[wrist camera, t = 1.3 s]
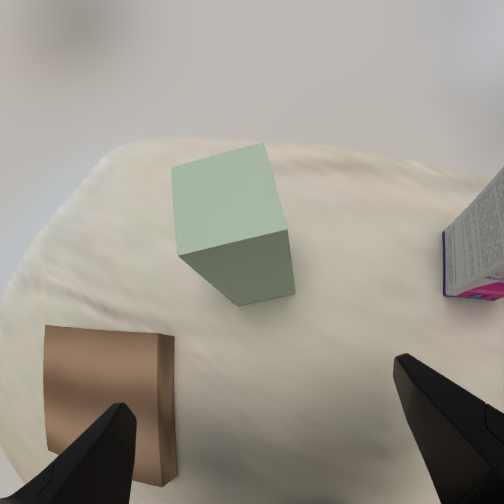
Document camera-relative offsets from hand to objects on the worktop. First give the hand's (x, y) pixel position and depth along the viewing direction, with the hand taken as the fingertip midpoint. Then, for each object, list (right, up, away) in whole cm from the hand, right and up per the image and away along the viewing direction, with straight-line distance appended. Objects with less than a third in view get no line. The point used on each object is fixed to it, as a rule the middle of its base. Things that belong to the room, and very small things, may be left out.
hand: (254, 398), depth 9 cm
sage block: (+1, +3, +15) cm, 16 cm away
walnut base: (-12, -8, +13) cm, 20 cm away
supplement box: (+18, +3, +13) cm, 23 cm away
